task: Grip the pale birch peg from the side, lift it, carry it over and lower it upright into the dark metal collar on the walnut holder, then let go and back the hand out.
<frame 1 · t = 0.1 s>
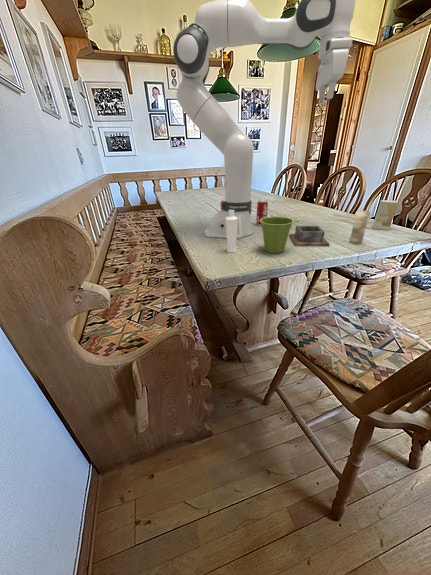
hand: (325, 101, 88), 48 cm above the table, tool pointing down, fingers open, 8 cm apart
birch peg: (355, 242, 98), on the table
plant pot: (273, 250, 93), on the table
skincare box: (380, 229, 114), on the table
soda can: (261, 225, 125), on the table
bottle holder: (307, 240, 101), on the table
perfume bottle: (231, 251, 94), on the table
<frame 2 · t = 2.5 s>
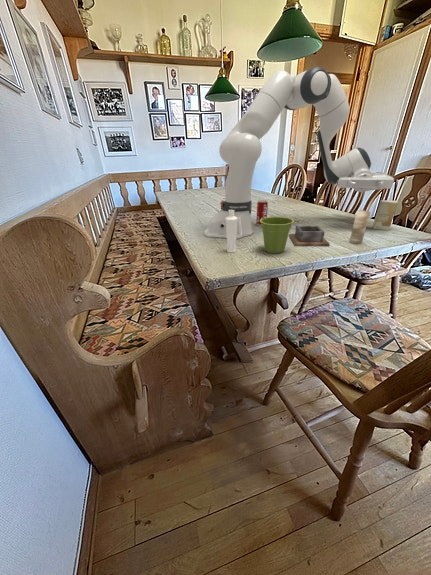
hand: (366, 184, 98), 20 cm above the table, tool horizontal, fingers open, 8 cm apart
nothing on the table moved.
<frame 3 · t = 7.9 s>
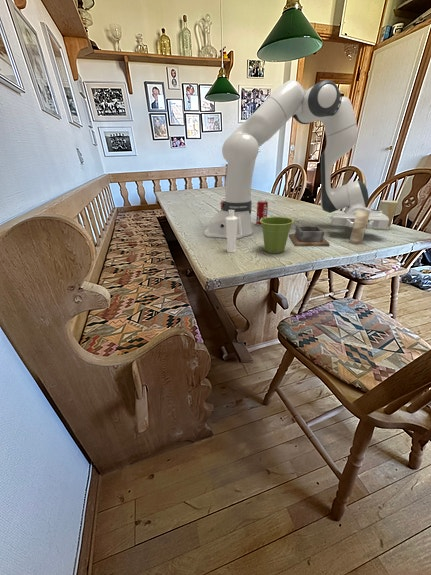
hand: (360, 225, 94), 7 cm above the table, tool horizontal, fingers closed on birch peg, 4 cm apart
birch peg: (355, 242, 98), on the table, touching gripper
everything else where it was.
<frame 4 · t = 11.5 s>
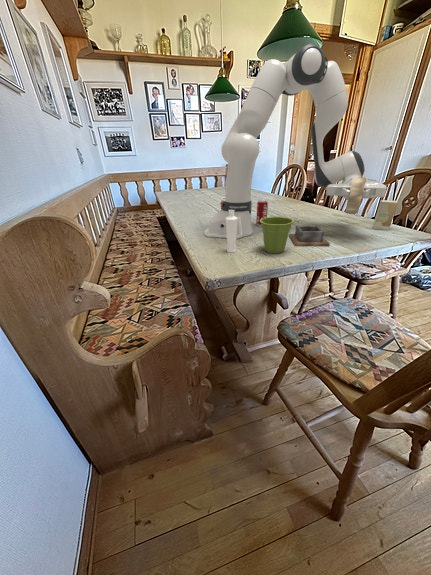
hand: (356, 193, 89), 19 cm above the table, tool horizontal, fingers closed on birch peg, 4 cm apart
birch peg: (351, 212, 93), point 12 cm above the table, touching gripper
everything else where it was.
when the fingers open (10 cm above the table, at t = 15.4 s): birch peg drops 1 cm, resting on bottle holder.
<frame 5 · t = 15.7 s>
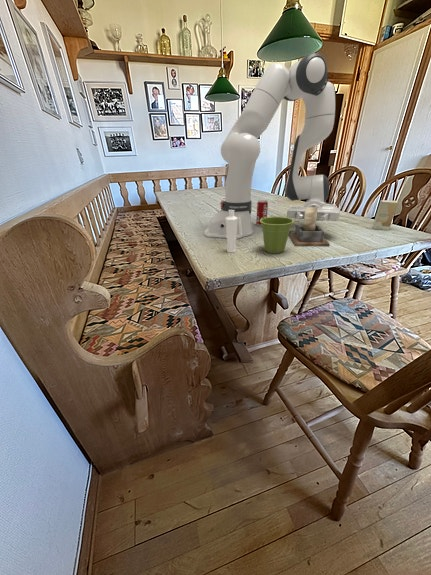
hand: (311, 218, 96), 10 cm above the table, tool horizontal, fingers open, 7 cm apart
birch peg: (308, 238, 101), point 1 cm above the table, touching bottle holder
everything else where it was.
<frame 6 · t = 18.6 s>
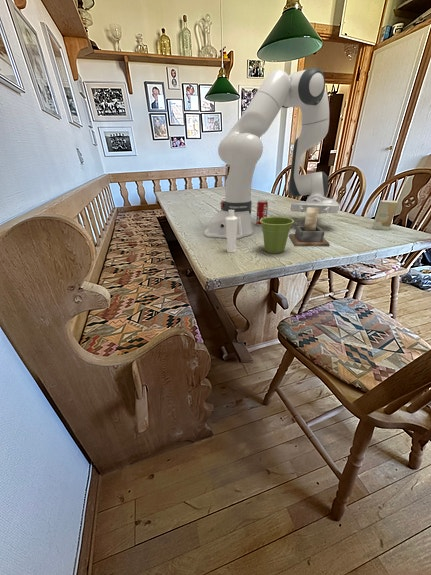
hand: (313, 210, 106), 10 cm above the table, tool horizontal, fingers open, 8 cm apart
nothing on the table moved.
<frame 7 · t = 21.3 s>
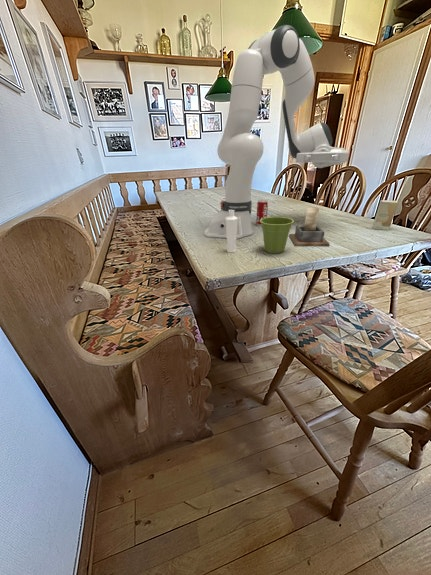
hand: (321, 157, 98), 30 cm above the table, tool horizontal, fingers open, 8 cm apart
nothing on the table moved.
at the end: birch peg 0.0 cm off-centre on the bottle holder, point 1.0 cm above the bottle holder's base; birch peg tilted 0°; the gripper is holding nothing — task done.
